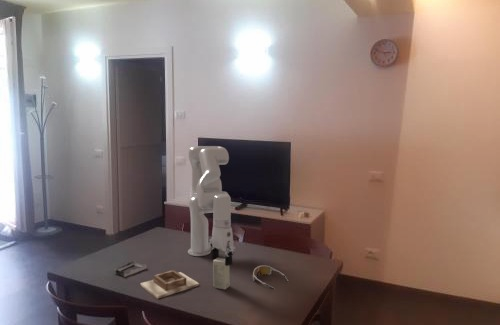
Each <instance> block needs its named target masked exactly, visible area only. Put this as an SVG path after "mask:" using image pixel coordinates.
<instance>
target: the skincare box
mask: <svg viewBox="0 0 500 325" xmlns="http://www.w3.org/2000/svg"><path fill="white" fill-rule="evenodd" d="M230 272H231V271H230V265H228V266H226V265H225V258H222V257H219V258H216V259H214V260H213V259H212V279H213V280H212V282H213V283H212V284H213V285H212V286H213V288H215V289H220V290H227V289H229V287H230V285H231V281H230Z"/></svg>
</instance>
